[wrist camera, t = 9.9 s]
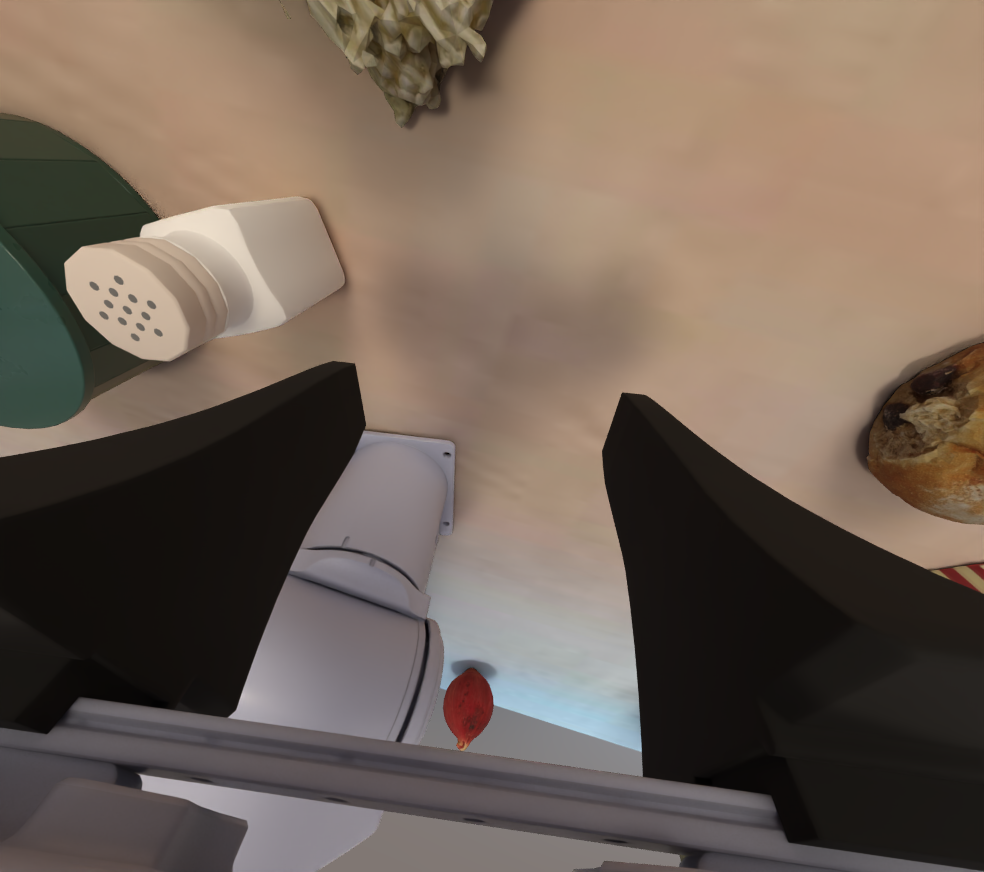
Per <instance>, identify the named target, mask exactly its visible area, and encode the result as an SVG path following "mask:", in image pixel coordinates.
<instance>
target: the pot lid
mask: <svg viewBox="0 0 984 872" xmlns="http://www.w3.org/2000/svg"><path fill="white" fill-rule="evenodd" d="M94 383H95V375H94V365H93V361H92V357H91V354H90V350H89V347H88V345H87V342H86V340H85V338H84V335H83V333H82V330H81V328H80V327H79V325H78V323H77V321H76V319H75V318H74V316H73V314H72V312H71V310H70V309H69V307H68V306H67V304H66V303H65V301H64V300H63V298H62V297H61V295H60V294H59V292H58V291H57V289H56V288H55V286H54V285H53V284H52V282H51V281H50V280H49V279H48V277H47V276H46V275H45V273H44V272H43V271H42V270H41V268H40V267H39V266H38V264H37V263H36V262H35V261H34V260H33V259H32V258H31V257H30V255H29V254H28V253H27V252H26V251H25V250H24V249H23V248H22V246H21V245H20V244H19V243H18V242H17V241H16V240H15V239H14V238H13V237H12V236H11V235H10V234H9V233H8V232H7V231H6V230H5V229H4V228H3V227H2V226H1V225H0V426H5V427H11V428H23V429H36V428H46V427H51V426H56V425H58V424H61V423H63V422H65V421H68V420H69V419H71V418H73V417H75V416H76V415H78V414H79V413H80V412H81V411H83V410H84V409H85V407H86V406H87V404H88V403H89V402H90V400H91V397H92V394H93V391H94Z"/></svg>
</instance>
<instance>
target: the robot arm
mask: <svg viewBox="0 0 984 872" xmlns="http://www.w3.org/2000/svg"><path fill="white" fill-rule="evenodd" d="M365 426H366V421H365V416H364V410H363V404H362V399H361V393H360V388H359V382H358V377H357V371H356V366H355V363H346V362H337V361H332V362H328V363H325V364H322V365H319V366H316V367H313V368H311V369H308V370H306V371H303V372H301V373H298V374H296V375H294V376H291V377H289V378H286V379H284V380H282V381H279V382H277V383H274V384H272V385H270V386H267V387H265V388H262V389H260V390H257V391H255V392H252V393H249V394H247V395H244V396H242V397H239V398H236V399H234V400H231V401H228V402H226V403H223V404H221V405H218V406H215V407H212V408H209V409H206V410H203V411H200V412H197V413H194V414H191V415H187V416H184V417H181V418H177V419H174V420H171V421H167V422H164V423H160V424H157V425H153V426H149V427H145V428H141V429H137V430H133V431H128V432H124V433H120V434H116V435H112V436H108V437H104V438H100V439H96V440H91V441H86V442H81V443H76V444H71V445H66V446H62V447H57V448H52V449H46V450H40V451H35V452H29V453H24V454H18V455H13V456H6V457H0V872H316V871H318V870H319V869H321V868H323V867H324V866H326V865H327V864H329V863H331V862H332V861H334V860H335V859H337V858H338V857H340V856H342V855H343V854H345V853H346V852H348V851H349V850H351V849H352V848H354V847H355V846H356V845H358V844H359V843H361V842H362V841H364V840H365V839H367V838H368V837H369V836H371V835H372V834H373V833H374V832H375V831H376V830H377V828H378V825H379V823H380V820H381V817H382V814H383V812H384V811H389V812H396V813H403V814H409V815H416V816H423V817H430V818H437V819H443V820H450V821H456V822H463V823H471V824H476V825H483V826H490V827H497V828H504V829H510V830H517V831H524V832H530V833H537V834H544V835H551V836H557V837H565V838H571V839H577V840H584V841H591V842H598V843H604V844H611V845H618V846H625V847H631V848H639V849H646V850H652V851H659V852H665V853H672V854H678V855H685V856H686V857H685V858H684V859H683V860H682V861H681V863H680V866H679V867H671V866H659V865H648V864H635V863H624V862H612V861H604V862H603V864H602V865H601V867H598V868H594V869H574V870H573V872H984V594H983V593H981V592H978V591H976V590H973V589H971V588H969V587H966V586H964V585H962V584H959V583H957V582H954V581H952V580H950V579H947V578H945V577H942V576H940V575H938V574H936V573H933V572H931V571H929V570H927V569H925V568H922V567H920V566H918V565H916V564H914V563H912V562H910V561H907V560H905V559H903V558H901V557H899V556H897V555H895V554H892V553H890V552H888V551H886V550H884V549H882V548H880V547H878V546H876V545H874V544H872V543H870V542H868V541H866V540H864V539H862V538H860V537H858V536H856V535H854V534H852V533H850V532H848V531H846V530H844V529H842V528H840V527H838V526H836V525H834V524H833V523H831V522H829V521H827V520H825V519H823V518H821V517H820V516H818V515H816V514H814V513H812V512H810V511H809V510H807V509H805V508H803V507H801V506H800V505H798V504H796V503H795V502H793V501H791V500H789V499H788V498H786V497H784V496H783V495H781V494H780V493H778V492H776V491H775V490H773V489H772V488H770V487H768V486H767V485H765V484H764V483H762V482H760V481H759V480H757V479H756V478H754V477H753V476H751V475H750V474H748V473H747V472H745V471H744V470H742V469H741V468H739V467H738V466H737V465H735V464H734V463H732V462H731V461H730V460H728V459H727V458H726V457H724V456H723V455H721V454H720V453H719V452H717V451H716V450H715V449H713V448H712V447H711V446H709V445H708V444H707V443H706V442H704V441H703V440H702V439H701V438H699V437H698V436H697V435H696V434H694V433H693V432H692V431H691V430H689V429H688V428H687V427H686V426H684V425H683V424H682V423H681V422H680V421H678V420H677V419H676V418H675V417H674V416H672V415H671V414H670V413H669V412H668V411H666V410H665V409H664V408H663V407H661V406H660V405H659V404H658V403H656V402H655V401H654V400H652V399H651V398H649V397H648V396H646V395H641V394H632V393H622V394H621V397H620V400H619V403H618V406H617V409H616V412H615V415H614V418H613V421H612V424H611V427H610V430H609V433H608V435H607V438H606V441H605V444H604V447H603V450H602V457H603V470H604V479H605V485H606V490H607V494H608V498H609V502H610V507H611V511H612V515H613V519H614V523H615V527H616V531H617V535H618V539H619V543H620V547H621V551H622V555H623V560H624V566H625V571H626V578H627V585H628V593H629V601H630V608H631V617H632V627H633V636H634V645H635V656H636V668H637V680H638V692H639V708H640V725H641V742H642V765H643V777H639V776H632V775H625V774H618V773H611V772H604V771H597V770H590V769H583V768H576V767H569V766H562V765H555V764H548V763H541V762H534V761H527V760H520V759H513V758H506V757H499V756H491V755H484V754H477V753H471V752H463V751H456V750H449V749H442V748H435V747H428V746H421V745H419V744H420V742H421V740H422V738H423V736H424V734H425V731H426V729H427V726H428V724H429V722H430V719H431V716H432V713H433V710H434V707H435V703H436V700H437V696H438V692H439V688H440V683H441V678H442V672H443V664H444V646H443V640H442V638H441V634H440V629H439V626H438V624H437V622H436V621H435V620H432V619H430V618H427V613H428V608H429V604H430V600H431V597H430V596H428V595H426V594H425V590H426V586H427V582H428V578H429V574H430V570H431V565H432V561H433V557H434V553H435V549H436V545H437V541H438V537H439V535H451V534H452V531H453V512H454V479H455V444H454V443H453V442H451V441H449V440H441V439H432V438H424V437H415V436H407V435H398V434H390V433H381V432H373V431H364V429H365ZM445 452H448V453H450V455H447V454H445Z"/></svg>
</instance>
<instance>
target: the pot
mask: <svg viewBox="0 0 984 872" xmlns="http://www.w3.org/2000/svg"><path fill="white" fill-rule="evenodd" d="M158 220H159V219H158V217H157V216H156V215H155V213H154V212H153V211H152V210H151V208H150V207H149V206H148V205H147V203H146V202H145V201H144V200H143V199H142V198H141V197H140V196H139V195H138V193H137V192H136V191H135V190H134V189H133V188H132V187H131V186H130V185H129V184H128V183H127V182H126V181H125V180H124V179H123V178H122V177H121V176H119V175H118V174H117V173H116V172H115V171H114V170H113V169H112V168H110V167H109V166H108V165H107V164H106V163H104V162H103V161H102V160H101V159H99V158H98V157H97V156H96V155H94V154H93V153H91V152H90V151H88V150H87V149H86V148H84V147H83V146H81V145H80V144H78V143H77V142H75V141H73V140H72V139H70V138H68V137H66V136H65V135H63V134H61V133H60V132H58V131H56V130H53V129H51V128H49V127H47V126H45V125H43V124H40V123H38V122H35V121H32V120H29V119H26V118H23V117H20V116H16V115H11V114H5V113H0V225H1V226H2V227H3V228H4V229H5V230H6V231H7V232H8V233H9V234H10V235H11V236H12V237H13V238H14V239H15V240H16V241H17V242H18V243H19V244H20V245H21V246H22V248H23V249H24V250H25V251H26V252H27V253H28V254H29V255H30V257H31V258H32V259H33V260H34V261H35V262H36V263H37V264H38V266H39V267H40V268H41V270H42V271H43V272H44V273H45V275H46V276H47V277H48V279H49V280H50V281H51V282H52V284H53V285H54V286H55V288H56V289H57V291H58V292H59V294H60V295H61V297H62V298H63V300H64V301H65V303H66V304H67V306H68V307H69V309H70V310H71V312H72V314H73V316H74V318H75V319H76V321H77V323H78V325H79V327H80V328H81V330H82V333H83V335H84V338H85V340H86V342H87V345H88V347H89V350H90V354H91V357H92V361H93V365H94V375H95V383H94V391H93V394H92V397H91V399H93V398H95V397H97V396H99V395H100V394H102V393H104V392H106V391H108V390H110V389H112V388H114V387H116V386H118V385H120V384H121V383H123V382H125V381H127V380H129V379H131V378H133V377H135V376H137V375H139V374H141V373H142V372H144V371H146V370H148V369H150V368H152V367H154V366H156V365H158V364H160V363H162V362H163V361H158V360H148V359H141V358H139V357H137V356H135V355H133V354H131V353H129V352H127V351H125V350H123V349H121V348H119V347H117V346H115V345H113V344H112V343H111V342H109V341H108V340H107V339H106V338H105V337H104V336H103V335H102V334H100V333H99V332H98V331H97V330H96V329H95V328H94V327H93V326H92V325H90V324H89V323H88V322H87V321H86V320H85V319H84V317H83V316H82V314H81V312H80V311H79V309H78V308H77V306H76V304H75V303H74V301H73V300H72V298H71V296H70V295H69V293H68V291H67V288H66V277H65V266H64V263H65V262H66V261H67V260H68V259H69V258H70V257H71V256H72V255H73V254H74V253H76V252H77V251H78V250H79V249H80V248H81V247H83V246H89V245H95V244H101V243H110V242H112V241H118V240H125V239H130V238H135V237H140V232H141V229H142V226H144V225H146V224H149V223H152V222H155V221H158Z"/></svg>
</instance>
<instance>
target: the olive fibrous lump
mask: <svg viewBox="0 0 984 872" xmlns="http://www.w3.org/2000/svg"><path fill="white" fill-rule="evenodd" d="M279 1H280V0H279ZM492 2H493V0H307V4H308V7H309V11H310V15H311V17H313V18H314V19H315V20H316V21H317V22H318V24H319V25H320V26H321V28H322V29H323V30H324V32H325V33H326V34H327V36H328V37H329V38H330V39H331V40H332V41H333V42H334V43H335V44H336V45H337V46H338V47H339V48H340V49H341V50H342V51H343V52H344V53H345V55H346V58H348V59H349V64H350V68H351V69H352V70H353V71H354V72H355V73H356V74H357V75H358V74H359V73H361V72H362V71H363V70H364V66H365V67H367V69H368V71H369V73H370V76H371V78H372V79H373V80H374V81H375V83H376V84H377V85H378V86H379V87H380V88H381V90H382V91H383V92H384V95H385V98H386V100H387V101H388V103H389V104H390V106H391V107H392V109H393V110H394V114H395V121H396V123H397V124H398V125H399V126H400V127H403V126H404V125H405V124H406V122H407V121H408V120H409V119H410V117H411V115H412V114H413V112H414V110H415V108H416V106H418V105H420V106H421V105H424V104H426V105H427V107H428V108H429V109H435V108H437V107H438V106H439V105H440V102H441V97H440V84H441V82H442V80H443V78H444V76H445V74H446V72H447V70H448V68H449V67H450V66H452V65H458V66H464V60H465V53H466V47H467V44H468V46H469V48H470V50H471V51H472V53H473V55H474V57H475V58H477V59H478V60H479V61H480V62H482V60H483V58H484V55H485V53H486V50H487V47H486V43H485V41H484V40H483V38H482V36H481V35H480V34H478V33H477V32H475V31H474V30H475V29H477V30H479V31H482V30H483V28H484V26H485V24H486V22H487V20H488V18H489V14H490V10H491V6H492ZM280 3H281V2H280ZM281 5H282V3H281ZM282 7H283V10H284V12H285V14H286V16H287V19H291V17H290V16H289V14H288V13H287V11H286V9H285V8H284V6H283V5H282Z"/></svg>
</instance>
